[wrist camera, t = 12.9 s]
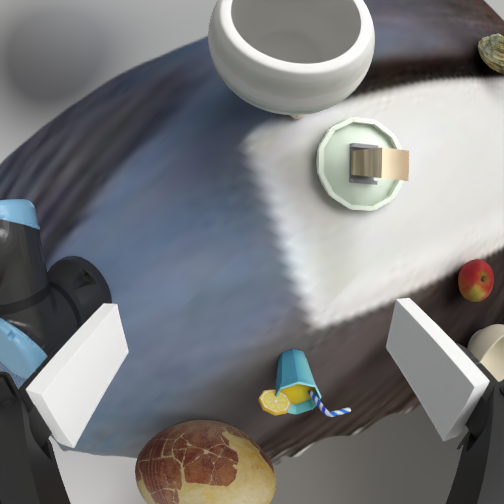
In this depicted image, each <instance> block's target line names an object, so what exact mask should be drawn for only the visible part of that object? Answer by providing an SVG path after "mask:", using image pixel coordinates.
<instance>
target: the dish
mask: <svg viewBox="0 0 504 504" xmlns="http://www.w3.org/2000/svg"><path fill="white" fill-rule="evenodd" d="M379 147H385V148H392V149H399V150H402V149H401V146H400V144H399V142H398V140H397V138H396V136H395V135H394V134H393V133H392V132H391V131H390V130H388V129H387V128H386V127H384V126H383V125H382V124H381V123H379V122H378V121H377V120H372V119H365V118H357V117H351V118H349V119H347V120H345V121H343V122H341V123H339V124H337V125H335V126H333V127H331V128H329V130H328V132H327V133H326V134H325V135H324V137H323V138H322V140H321V142H320V144H319V147H318V149H317V155H316V168H317V174H318V176H319V179H320V181H321V184H322V185H323V187H324V189H325V190H326V191H327V193H328V195H329V196H330V197H332V198H333V199H335V200H336V201H337V202H339V203H341V204H342V205H344V206H345V207H347V208H348V209H351V210H367V211H374V210H376V209H378V208H380V207H381V206H383V205H385V204H387V203H389V202H390V201H392V200H393V199H394V197H395V196H396V194H397V192H398V191H399V189H400V187H401V185H402V184H403V182H404V181H403V180H394V179H384V178H376V177H368V176H359V175H351V152H352V151H358V150H365V149H372V148H379Z"/></svg>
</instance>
